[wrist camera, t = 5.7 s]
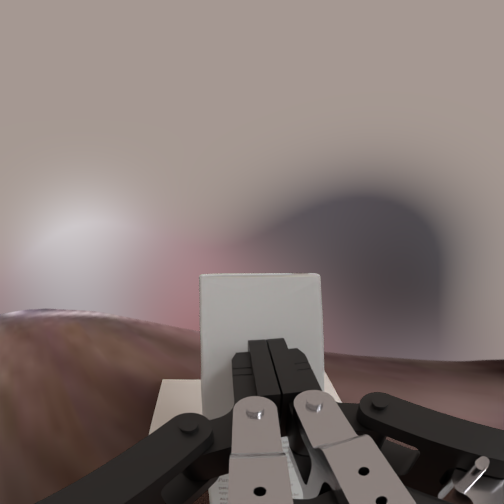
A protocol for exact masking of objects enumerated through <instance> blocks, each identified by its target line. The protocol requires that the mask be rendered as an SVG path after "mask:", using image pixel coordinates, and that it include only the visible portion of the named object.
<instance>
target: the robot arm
mask: <svg viewBox="0 0 504 504" xmlns="http://www.w3.org/2000/svg"><path fill="white" fill-rule="evenodd" d="M231 361H232V378H233V393H234V406H233V408H232V409H231V411H230V412H228V413H227V414H226V415H224V416H222V417H219V418H216V419H212V420H209V419H208V418H206V417H205V416H203V415H201V414H197V413H183V414H179V415H177V416H175V417H173V418H172V419H171V420H169V421H168V422H166V423H165V424H164V425H162V426H161V427H159V428H158V429H157V430H155V431H154V432H152V433H151V434H150V435H148V436H147V437H145V438H144V439H142V440H141V441H140V442H138V443H137V444H135V445H134V446H132V447H131V448H129V449H128V450H126V451H125V452H123V453H122V454H120V455H119V456H117V457H115V458H114V459H112V460H111V461H109V462H108V463H106V464H104V465H103V466H101V467H100V468H98V469H96V470H95V471H93V472H91V473H90V474H88V475H86V476H85V477H83V478H81V479H79V480H78V481H76V482H74V483H73V484H71V485H69V486H67V487H65V488H64V489H62V490H60V491H58V492H56V493H54V494H52V495H50V496H49V497H47V498H45V499H43V500H41V501H39V502H37V503H35V504H193V503H194V502H195V501H196V500H197V499H198V498H199V497H200V496H201V495H202V494H203V493H205V492H206V491H207V490H208V489H209V488H210V487H211V486H212V485H213V484H214V483H215V482H216V481H217V480H218V478H219V476H222V475H225V474H229V483H228V504H504V430H500V429H496V428H492V427H488V426H485V425H481V424H477V423H474V422H470V421H467V420H463V419H460V418H456V417H453V416H450V415H447V414H443V413H440V412H437V411H434V410H431V409H428V408H425V407H422V406H419V405H416V404H414V403H411V402H408V401H405V400H402V399H400V398H397V397H394V396H391V395H389V394H386V393H381V392H374V393H369V394H367V395H365V396H364V397H363V398H362V399H361V400H360V403H359V404H354V403H340V402H336V401H335V400H334V398H333V397H332V396H331V395H330V394H328V393H326V392H324V391H322V389H321V387H320V385H319V383H318V381H317V378H316V376H315V374H314V372H313V370H312V369H311V366H310V364H309V362H308V359H307V357H306V355H305V354H304V353H303V352H302V351H300V350H299V349H298V348H292V349H288V347H287V344H286V341H285V339H284V338H275V339H266V340H265V339H261V340H248V352H238V353H236V354H235V355H234V357H233V358H232V360H231ZM387 436H388V437H390V438H393V439H395V440H398V441H400V442H403V443H406V444H408V445H411V446H414V447H416V448H417V449H418V450H411V449H408V448H406V447H403V446H401V445H398V444H395V443H393V442H390V441H388V440H385V439H386V437H387ZM281 437H288V441H289V446H288V453H289V456H290V459H291V462H292V464H293V467H294V470H295V472H296V475H297V477H298V480H299V483H300V485H301V488H302V492H303V499H293V497H292V490H291V483H290V477H289V470H288V463H287V457H286V454H285V453H283V449H282V442H281Z"/></svg>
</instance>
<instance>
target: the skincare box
mask: <svg viewBox="0 0 504 504" xmlns="http://www.w3.org/2000/svg"><path fill="white" fill-rule="evenodd" d="M199 292H200V340H201V398H202V415H203V416H205V417H206V418H208V419H209V420H212V419H216V418H219V417H222V416H224V415H226V414H227V413H228V412H230V411H231V409H232V408H233V406H234V393H233V378H232V361H231V360H232V358H233V357H234V355H235V354H236V353H238V352H248V340H261V339H265V340H266V339H275V338H284V339H285V341H286V344H287V347H288V349H292V348H298V349H299V350H300V351H302V352H303V353H304V354H305V355H306V357H307V359H308V362H309V364H310V366H311V369H312V370H313V372H314V374H315V376H316V378H317V381H318V383H319V385H320V387H321V389H322V391H324V340H323V314H322V298H321V282H320V275H319V274H316V273H275V274H274V273H272V274H271V273H264V274H202V275H200V276H199ZM281 442H282V449H283V453H285V454H286V457H287V463H288V470H289V477H290V483H291V490H292V497H293V499H303V492H302V488H301V485H300V483H299V480H298V477H297V475H296V472H295V470H294V467H293V464H292V462H291V459H290V456H289V453H288V446H289V441H288V437H281ZM228 483H229V474H225V475H222V476H219V478H218V480H217V481H216V482H215V483H214V484H213V485H212V486H211V487H210V488H209V489H208V491H209V500H210V504H228Z"/></svg>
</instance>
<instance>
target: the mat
mask: <svg viewBox="0 0 504 504" xmlns="http://www.w3.org/2000/svg"><path fill="white" fill-rule="evenodd" d="M324 392H326V393H328V394H330V395H331V396H332V397H333V398H334V400H335V401H336V402H340V403H342V402H341V400H340V398H339V397H338V395H337V393H336V391H335V389H334V387H333V385H332V384H331V382H330V380H329V378H328V376H327V374H326V373H325V371H324ZM183 413H197V414H201V415H202V398H201V380H173V379H163V380H162V384H161V388H160V392H159V395H158V399H157V403H156V407H155V411H154V415H153V419H152V423H151V427H150V431H149V435H150V434H151V433H152V432H154V431H155V430H157V429H158V428H159V427H161V426H162V425H164V424H165V423H166V422H168V421H169V420H171V419H172V418H173V417H175V416H177V415H179V414H183Z"/></svg>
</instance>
